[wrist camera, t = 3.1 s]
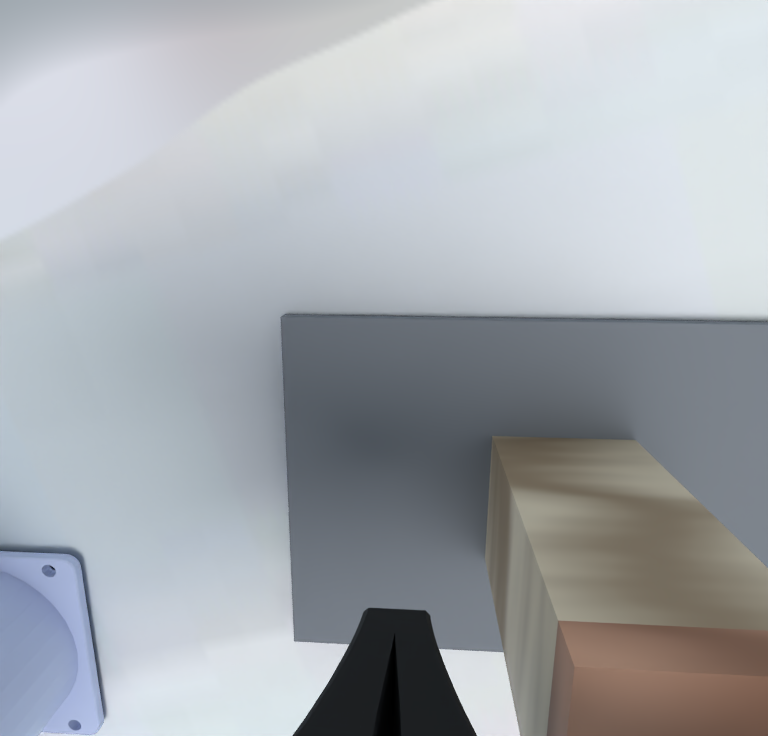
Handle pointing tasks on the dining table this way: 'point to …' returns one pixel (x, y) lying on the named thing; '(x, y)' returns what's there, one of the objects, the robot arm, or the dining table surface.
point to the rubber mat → (474, 443)
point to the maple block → (621, 596)
